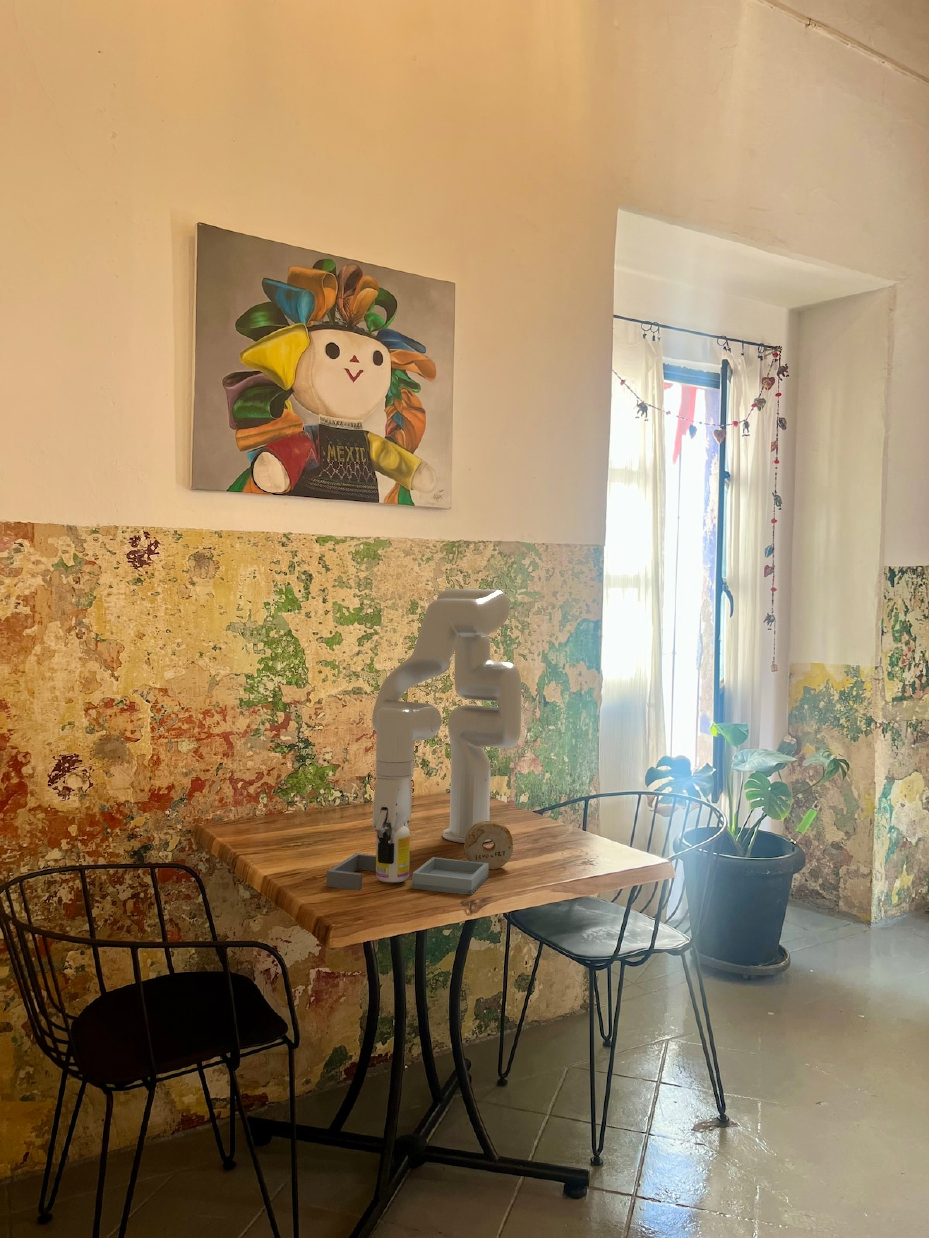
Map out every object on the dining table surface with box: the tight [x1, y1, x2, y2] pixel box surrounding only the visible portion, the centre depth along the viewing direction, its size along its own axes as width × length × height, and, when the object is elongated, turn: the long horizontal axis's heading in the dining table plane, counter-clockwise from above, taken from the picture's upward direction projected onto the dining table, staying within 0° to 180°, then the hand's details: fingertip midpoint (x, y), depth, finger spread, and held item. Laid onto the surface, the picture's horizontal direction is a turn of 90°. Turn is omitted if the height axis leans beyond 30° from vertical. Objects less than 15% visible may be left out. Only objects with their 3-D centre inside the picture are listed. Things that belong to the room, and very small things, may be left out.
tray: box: [411, 856, 489, 896], centre depth 183 cm, size 12×12×3 cm
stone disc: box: [463, 820, 514, 870], centre depth 194 cm, size 10×4×10 cm, turn 94°
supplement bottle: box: [375, 817, 411, 883], centre depth 182 cm, size 7×7×13 cm
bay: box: [326, 852, 376, 891], centre depth 184 cm, size 14×7×3 cm, turn 163°
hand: (392, 857), depth 182 cm, fingers closed on supplement bottle, 6 cm apart
